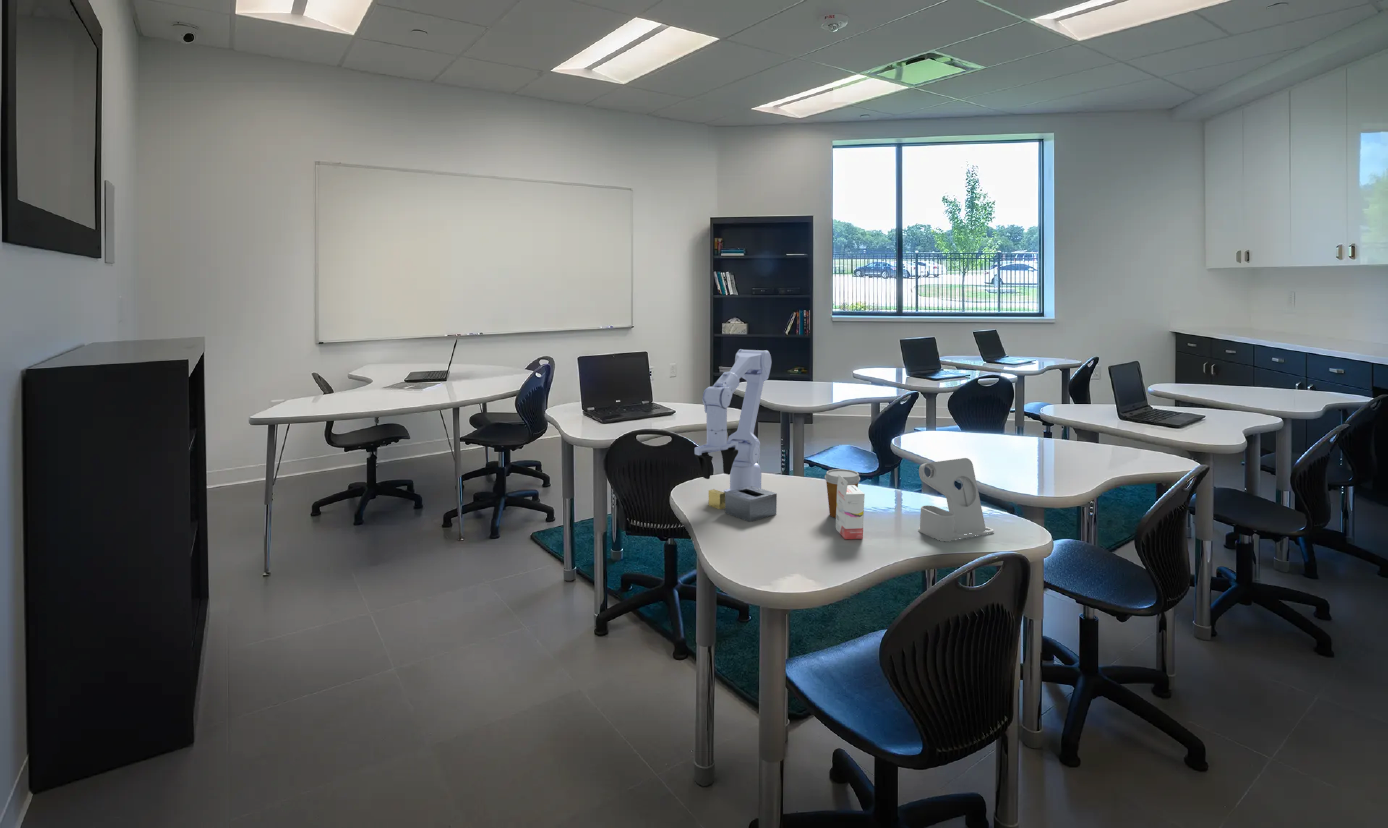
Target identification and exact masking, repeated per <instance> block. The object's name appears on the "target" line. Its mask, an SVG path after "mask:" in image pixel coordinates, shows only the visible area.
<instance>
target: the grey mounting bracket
mask: <svg viewBox="0 0 1388 828" xmlns="http://www.w3.org/2000/svg"><path fill="white" fill-rule="evenodd" d="M926 467H927V468H928V469H929V470H930V475H929V476H927V475H926V473H925V469H926ZM918 474H919V478H920V480H921V482H923V483H924V484H926V485H928V486H930V487H931V488H932V489H934V490H935V491H937V492H938V493H940V494H941V495H943V496H944V497H945V498H946V503H947V504H946V505H947V509H948V511H947V510H945V509H943V508H940V507H937V506H933V505H922V506H921V507H920V518H919V527H918V529H917V530H918V532H919V533H921V534H923V535H926V536H928V537H930V538H932V539H934V538H936V539H937V541H939V540H940V541H939V542H942V541H949V542H952V541H951V540H955V539H959V538H966V539H968V538H967V537H971V538H973V537H972V536H975V535H976V537H978V536H977V535H982V536H985V535H984V534H987V533H992V534H994V531H995V530H994V529H993V528H991V527H988V526H986V522H985V518H984V513H983V509H982V505H981V498H980V493H979V489H978V483H977V479H976V475H975V469H974V464H973V461H971V459H969V458H968V457H963V458H955V459H947V460H938V461H932V462H926V463H922V464H920V465H919V468H918ZM957 480H960V481H961V483H962V487H961V488H960V489H958V488H957V487H956V486H955V485H956V484H955V482H956V481H957ZM985 530H988V531H985ZM969 533H972V534H969ZM964 534H967V535H964ZM987 535H988V534H987ZM936 539H935V540H936ZM955 541H956V540H955Z"/></svg>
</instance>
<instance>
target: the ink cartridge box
mask: <svg viewBox="0 0 1388 828" xmlns="http://www.w3.org/2000/svg"><path fill="white" fill-rule="evenodd" d="M841 482H843V483H844V485H842V484H841ZM864 517H865V493H864V492H863V491H862V490H861V489H860V488H859V487H858V488H857V487H856V486H855V485H848V482H847V481H846V480H845V479H844V478H843V477H841V476H840V475H839V476H838V484H837V504H836V518H835V530H836V531H837V532H838V533H839V535H840V536H841V537H842V538H843V539H844V540H863V538H864Z"/></svg>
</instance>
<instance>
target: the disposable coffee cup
mask: <svg viewBox="0 0 1388 828" xmlns="http://www.w3.org/2000/svg"><path fill="white" fill-rule="evenodd" d="M839 475H840V476H841V477H843V478H844V479H845V480H846V481H847V482H848V485H855V486H856V487H857V488H858V489H859V482H860V481H861V477H860V474H859V472H858V471H856V470H852V469H845V468H835V469H828V470H827V471H826V472H825V475H824V480H825V482H826V493H827V500H828V511H829V516H830V517H831V518H835V519H836V504H837V484H838V476H839ZM841 484H842V485H844V483H843V482H841Z"/></svg>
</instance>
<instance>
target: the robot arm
mask: <svg viewBox="0 0 1388 828" xmlns="http://www.w3.org/2000/svg"><path fill="white" fill-rule="evenodd" d="M771 355H772V354H770V351H769V350H767V349H766V350H759V349H757V350H756V349H742V348H740V349H738V350H737V352H736V353H735V358H734V364H733V365H732V367H731V369H729V371H724V372H723V373H722V374H721V376H720V377H719V378H718V379H717V380H716V381H715V382H714V384H713V385H712V386H708V387H707V388H705V389H704V391H703V393H702V398H701V401H702V404H703V406H704V412H705V414H706V443H704V444H702V445H699V446H696V447H694V456H695V459H696V460H697V463H698V465H699V466H700V469H701V473H702V474H701V475H702V479H706V480H710V479H711V467H712V461H713V458H714V457H713V455H710V454H709V453H716V452H720V453H721V458H722V470H723V471H722V472H723V474H725V475H728V476H729V488H727V489H723V492H724V493H725V492H728V491H732V490H736V489H740V488H745V487H749V486H754V487H757V488H761V489H762V469H761V465H760V464H759V463H758V462H759V459H760V455H761V450H760V449H761V441H760V440H759V438H758V437H757V436H756V435H755V434H754V432H755V427H756V422H757V416H758V414H759V413H758V412H759V407H760V403H761V398H762V393H763V392H762V391H763V387H764V384H765V383H764V382H766V381H767V380H768V379H769V377H770V373H771V368H772V361H773V360H772V356H771ZM740 379H744V380H745V381H746V387H745V392H744V397H743V401H742V405H741V406H742V407H741V411H740V414H739V415H740V416H739V420H738V426H737V430H736V431H735V432H732V433H731V434H730V435H729V436H728V421H727V420H728V407H730V404H731V400H732V398H733V394H734V393H735V392H736V390H737V389H738V387H739V386H740Z"/></svg>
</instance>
